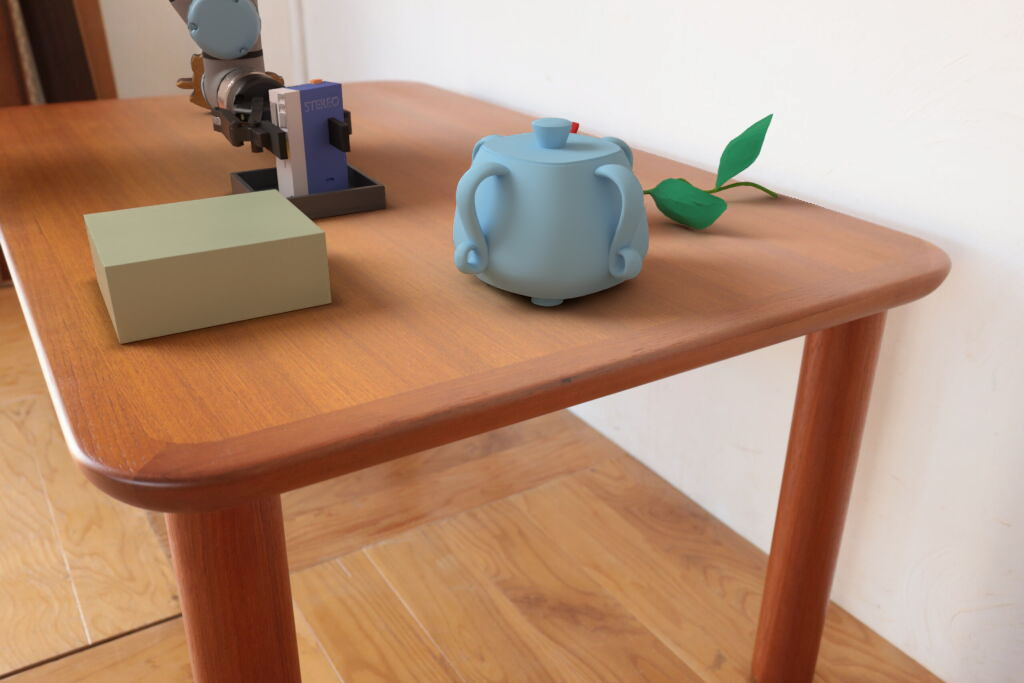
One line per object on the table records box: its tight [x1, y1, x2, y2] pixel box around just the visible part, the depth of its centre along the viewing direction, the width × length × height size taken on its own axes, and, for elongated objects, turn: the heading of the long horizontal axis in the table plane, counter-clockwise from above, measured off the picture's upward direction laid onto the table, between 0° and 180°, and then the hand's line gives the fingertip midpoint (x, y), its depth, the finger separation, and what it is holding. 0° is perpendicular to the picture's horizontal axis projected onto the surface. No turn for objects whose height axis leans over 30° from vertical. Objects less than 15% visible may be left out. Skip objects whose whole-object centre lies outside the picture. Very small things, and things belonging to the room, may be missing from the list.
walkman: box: [269, 78, 349, 198], centre depth 96 cm, size 8×3×12 cm, turn 143°
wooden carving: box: [175, 52, 285, 111], centre depth 142 cm, size 16×5×10 cm, turn 114°
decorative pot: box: [452, 117, 650, 307], centre depth 74 cm, size 16×16×14 cm
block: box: [83, 189, 332, 345], centre depth 73 cm, size 14×16×6 cm
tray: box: [229, 161, 387, 220], centre depth 98 cm, size 13×13×2 cm
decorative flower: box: [570, 113, 779, 231], centre depth 90 cm, size 14×30×10 cm, turn 104°
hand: (314, 142), depth 91 cm, fingers closed on walkman, 6 cm apart
